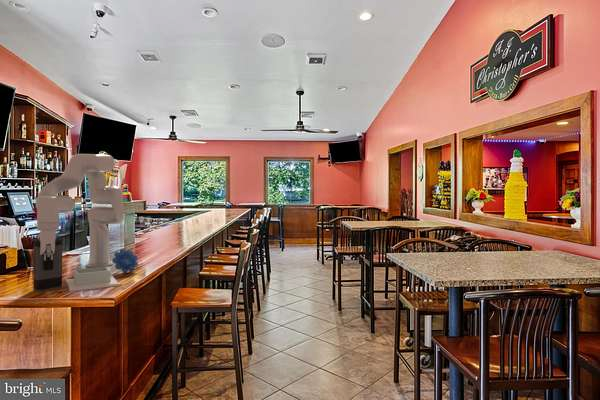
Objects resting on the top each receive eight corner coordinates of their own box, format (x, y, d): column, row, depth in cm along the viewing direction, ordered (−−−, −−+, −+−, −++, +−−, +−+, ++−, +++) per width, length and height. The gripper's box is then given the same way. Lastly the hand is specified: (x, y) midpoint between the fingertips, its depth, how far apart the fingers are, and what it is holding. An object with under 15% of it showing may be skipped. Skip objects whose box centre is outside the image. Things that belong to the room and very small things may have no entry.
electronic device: (57, 285, 159) (57, 238, 159) (63, 287, 156) (63, 240, 155) (31, 289, 152) (32, 240, 151) (37, 292, 148) (38, 242, 148)
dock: (66, 281, 165) (66, 268, 165) (111, 276, 176) (111, 264, 175) (69, 291, 150) (69, 276, 150) (118, 285, 161) (118, 271, 161)
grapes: (112, 275, 178) (112, 250, 178) (112, 272, 184) (112, 248, 184) (138, 273, 183) (138, 249, 183) (137, 270, 189) (138, 247, 189)
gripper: (36, 224, 158) (36, 264, 158) (37, 228, 144) (36, 272, 144) (57, 224, 162) (57, 263, 162) (60, 228, 148) (60, 270, 148)
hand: (47, 267), depth 153 cm, fingers open, 9 cm apart
